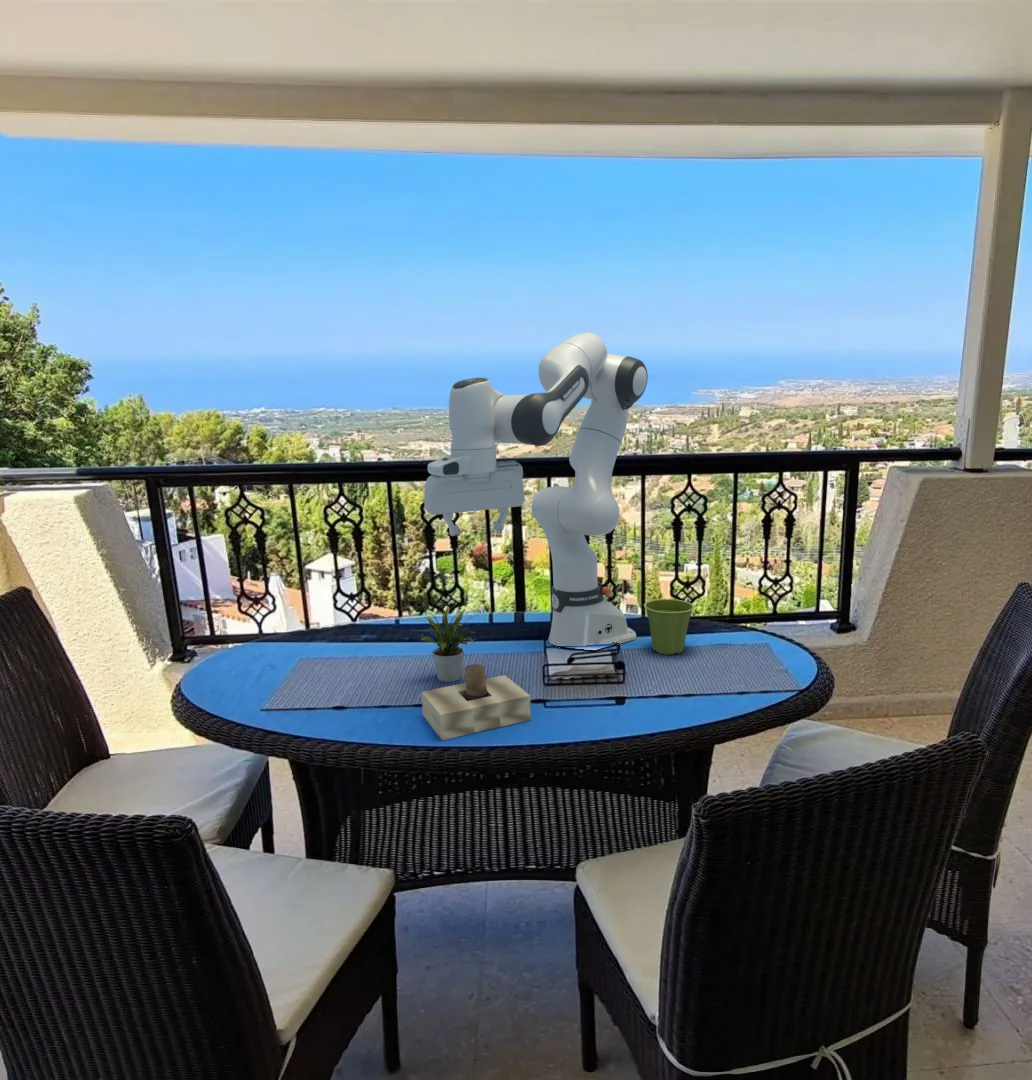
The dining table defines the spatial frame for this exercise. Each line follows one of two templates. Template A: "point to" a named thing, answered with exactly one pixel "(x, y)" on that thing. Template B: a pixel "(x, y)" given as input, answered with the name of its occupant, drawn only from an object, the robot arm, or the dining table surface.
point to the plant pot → (668, 624)
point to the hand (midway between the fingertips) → (476, 532)
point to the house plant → (448, 647)
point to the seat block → (475, 708)
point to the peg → (475, 682)
